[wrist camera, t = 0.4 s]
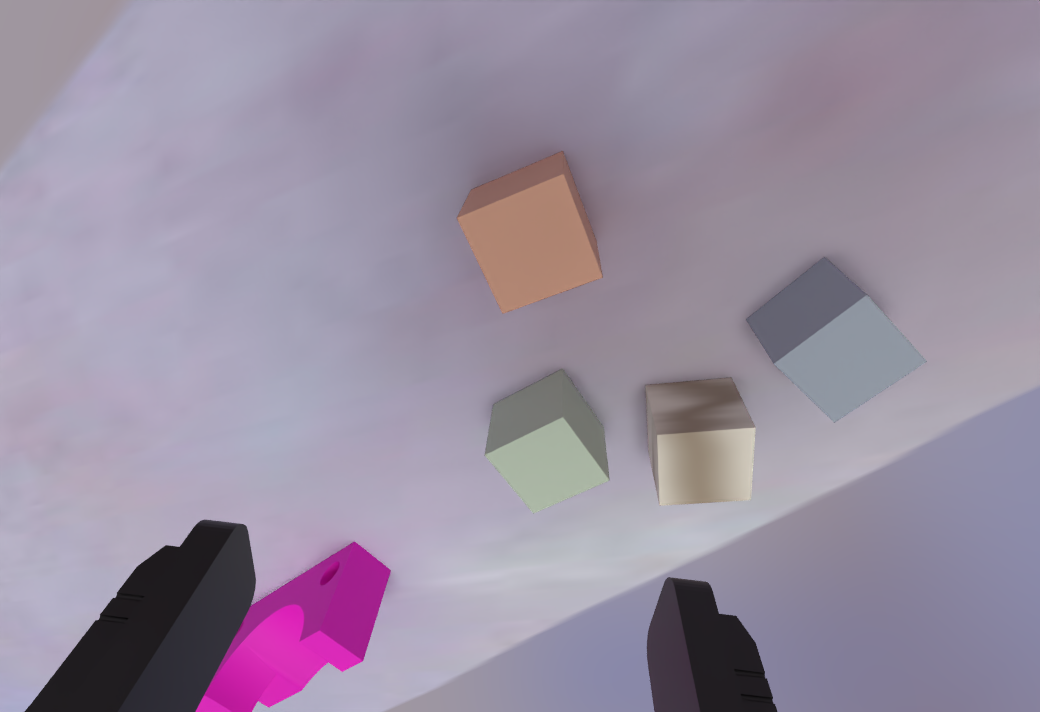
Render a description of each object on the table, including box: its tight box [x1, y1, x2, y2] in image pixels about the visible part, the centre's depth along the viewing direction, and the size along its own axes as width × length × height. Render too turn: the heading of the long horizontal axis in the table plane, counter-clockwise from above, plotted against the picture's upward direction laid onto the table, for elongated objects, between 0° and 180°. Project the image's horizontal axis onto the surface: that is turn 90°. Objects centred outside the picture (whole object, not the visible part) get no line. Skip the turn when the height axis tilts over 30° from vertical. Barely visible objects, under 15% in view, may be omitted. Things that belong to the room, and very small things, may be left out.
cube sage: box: [485, 369, 609, 514], centre depth 35 cm, size 5×5×5 cm
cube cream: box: [645, 378, 756, 506], centre depth 34 cm, size 5×5×5 cm
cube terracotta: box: [457, 151, 603, 314], centre depth 29 cm, size 5×5×5 cm
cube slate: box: [746, 257, 927, 423], centre depth 31 cm, size 5×5×5 cm
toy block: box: [196, 542, 391, 712], centre depth 44 cm, size 15×6×8 cm, turn 129°
